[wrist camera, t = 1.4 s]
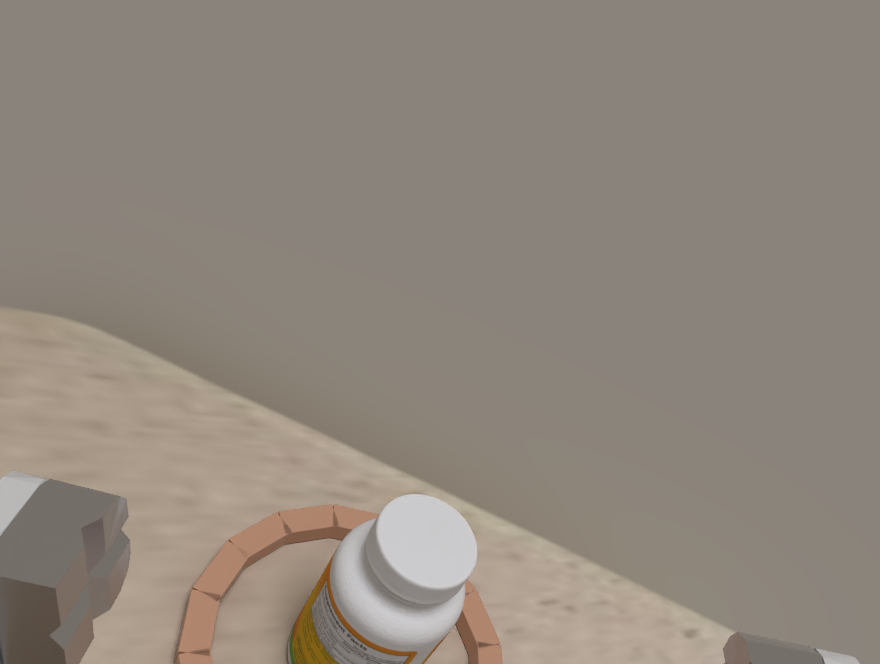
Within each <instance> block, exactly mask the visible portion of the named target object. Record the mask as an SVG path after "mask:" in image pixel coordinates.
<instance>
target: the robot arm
mask: <svg viewBox="0 0 880 664" xmlns="http://www.w3.org/2000/svg"><path fill="white" fill-rule="evenodd" d="M128 517H129V516H128V507H127V499H125V498H123V497H121V496H117V495H113V494H109V493H105V492H101V491H97V490H93V489H89V488H85V487H80V486H76V485H72V484H68V483H64V482H60V481H56V480H52V479H47V478H43V477H38V476H34V475H30V474H26V473H22V472H17V471H12V472H10V473H8V474H7V475H5V476H3V477H2V478H0V664H79V663H80V661H81V659H82V658H83V656H84V654H85V652H86V651H87V649H88V647H89V646H90V644H91V642H92V640H93V639H94V633H93V622H92V620H93V619H95V618H97V617H98V616H100V615H102V614H103V613H105V612H107V611H108V610H110V609H111V607H112V605H113V604H114V602H115V600H116V598H117V596H118V594H119V593H120V591H121V588H122V585H123V582H124V579H125V577H126V574H127V571H128V566H129V560H130V540H129V538H128V537H127V536H126V535H125V534H124V532H123V531H122V530H121V528H122V527H123V525H124V523H125V522H126V520H127V518H128ZM723 651H724V657H725V663H724V664H860V663H859V662H858V661H857V660H856V659H855V657H852V656H847V655H843V654H838V653H834V652H829V651H824V650H820V649H812V648H811V647H809V646H804V645H799V644H794V643H789V642H784V641H780V640H775V639H770V638H765V637H760V636H756V635H751V634H746V633H741V632H736V633H735V634H733V635H732V636H730V638H729V639H728V641H727V643H726V644H725V646H724V648H723Z"/></svg>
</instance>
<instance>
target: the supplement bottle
mask: <svg viewBox="0 0 880 664" xmlns="http://www.w3.org/2000/svg"><path fill="white" fill-rule="evenodd" d="M476 561H477V544H476V540H475V537H474V534H473V532H472V530H471V528H470V526H469V525H468V523H467V522H466V520H465V519H464V518H463V517H462V515H461V514H460V513H459V512H458V511H456V510H455V509H454V508H453V507H451V506H450V505H448V504H447V503H445V502H443V501H441V500H439V499H437V498H434V497H431V496H427V495H421V494H410V495H404V496H401V497H398V498H396V499H394V500H392V501H391V502H389V503H388V504H387V505H386V506H385V507H384V508H383V509H382V511H381V512H380V514H379V515H378V517H377V518H376V519H372V520H369V521H366V522H364V523H362V524H360V525H358V526H357V527H355V528H354V529H353V530H352V531H350V532H349V533H348V534H347V535H346V537H345V538H344V539H343V540H342V542H341V543H340V545H339V546H338V548H337V549H336V551H335V553H334V554H333V556H332V558H331V560H330V562H329V563H328V565H327V567H326V569H325V571H324V572H323V574H322V576H321V578H320V579H319V581H318V583H317V585H316V586H315V588H314V590H313V592H312V594H311V595H310V597H309V599H308V600H307V602H306V604H305V606H304V608H303V609H302V611H301V613H300V615H299V616H298V618H297V620H296V622H295V624H294V626H293V628H292V631H291V634H290V637H289V642H288V663H289V664H424V663H425V662H426V660H427V659H428V658H429V657H430V655H431V654H432V653H433V652H434V651H435V649H436V648H437V647H438V646H439V644H440V643H441V642H442V641H443V640H444V639H445V637H446V636H447V635H448V633H449V632H450V631H451V629H452V628H453V626H454V625H455V623H456V622H457V620H458V618H459V616H460V614H461V611H462V609H463V605H464V600H465V582H466V581H467V579H468V578H469V577H470V575H471V574H472V572H473V570H474V568H475V565H476Z"/></svg>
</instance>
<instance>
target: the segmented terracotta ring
mask: <svg viewBox="0 0 880 664" xmlns="http://www.w3.org/2000/svg"><path fill="white" fill-rule="evenodd" d="M378 515H379V514H375V513H370V512H366V511H361V510H357V509H352V508H348V507H343V506H339V505H334V506H333V507H332V504H331V505H323V506H316V507H308V508H301V509H293V510H286V511H279V512H278V513H277V512H276V513H274V514H272V515H271V516H269V517H267V518H265V519H264V520H262V521H260V522H258V523H257V524H255V525H253V526H251V527H249V528H248V529H246V530H244V531H242V532H241V533H239V534H237V535H235V536H234V537H232V538H230V539H229V541H227V542H226V543H225V545H224V546H223V547H222V549H221V550H220V551H219V553H218V554H217V555H216V557H215V558H214V559H213V561H212V562H211V563H210V565H209V566H208V567H207V569H206V570H205V571H204V573H203V574H202V575H201V577H200V578H199V579H198V581H197V582H196V583H195V585H194V586H193V588H192V590H191V593H190V595H189V598H188V600H187V604H186V609H185V613H184V618H183V623H182V627H181V632H180V636H179V641H178V645H177V650H176V655H175V659H174V663H175V664H212V659H211V655H210V649H211V643H212V638H213V633H214V627H215V622H216V617H217V611H218V606H219V603H220V602H221V600H222V599H223V598H224V596H225V595H226V593H227V592H228V590H229V589H230V587H231V586H232V585H233V583H234V582H235V580H236V579H237V577H238V576H239V575H240V573H241V572H242V570H243V569H244V568H246V567H248V566H249V565H251V564H253V563H254V562H256V561H258V560H259V559H261V558H262V557H264V556H266V555H267V554H269V553H271V552H272V551H274V550H276V549H277V548H279V547H281V546H282V545H284V544H291V543H297V542H304V541H310V540H317V539H323V538H334V539H339V540H343V539H344V538H345V537H346V535H347V534H348V533H349V532H350V531H352V530H353V529H354V528H355V527H357V526H358V525H360V524H362V523H364V522H366V521H369V520H372V519H376V518H377V517H378ZM474 590H475V587H474V586H473V585H472V584H471V583H470V582H469V581H468V579H467V581H466V582H465V600H464V605H463V609H462V611H461V614H460V616H459V618H458V620H457V622H456V626H457V628H458V631H459V633H460V635H461V638H462V640H463V642H464V645H465V647H466V650H467V652H468V654H469V664H503V663H502V651H501V646H500V645H499V644H500V641H499V639H498V637H497V634H496V632H495V630H494V628H493V625H492V623H491V621H490V619H489V616H488V614H487V612H486V610H485V608H484V605H483V603H482V601H481V599H480V596H479V594H478V592H477V591H474Z"/></svg>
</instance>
